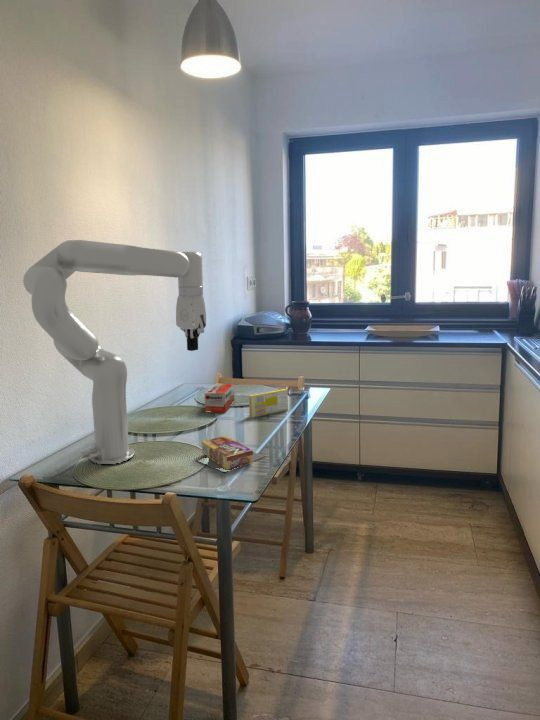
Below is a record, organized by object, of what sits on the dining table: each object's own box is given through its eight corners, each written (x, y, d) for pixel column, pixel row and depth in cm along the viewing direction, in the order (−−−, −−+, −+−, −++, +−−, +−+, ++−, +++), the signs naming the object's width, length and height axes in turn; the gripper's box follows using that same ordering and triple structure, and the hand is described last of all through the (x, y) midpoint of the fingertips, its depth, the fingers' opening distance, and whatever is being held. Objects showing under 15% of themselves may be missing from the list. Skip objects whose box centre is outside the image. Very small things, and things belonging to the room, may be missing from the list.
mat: (224, 473, 151) (224, 472, 151) (196, 461, 159) (196, 460, 159) (265, 457, 162) (265, 456, 162) (236, 446, 170) (236, 445, 170)
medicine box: (215, 401, 220) (214, 382, 218) (234, 402, 219) (234, 383, 217) (204, 413, 205) (204, 392, 204) (225, 414, 204) (225, 393, 202)
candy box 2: (285, 409, 209) (285, 388, 208) (288, 410, 208) (288, 389, 206) (248, 416, 201) (248, 394, 199) (251, 417, 199) (251, 396, 197)
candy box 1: (201, 454, 164) (226, 470, 151) (201, 441, 163) (225, 456, 151) (227, 448, 169) (253, 463, 156) (227, 435, 168) (253, 449, 155)
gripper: (166, 291, 172) (169, 348, 176) (196, 294, 162) (198, 355, 166) (185, 290, 177) (187, 345, 181) (215, 292, 167) (217, 351, 171)
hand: (192, 349), depth 173 cm, fingers closed
